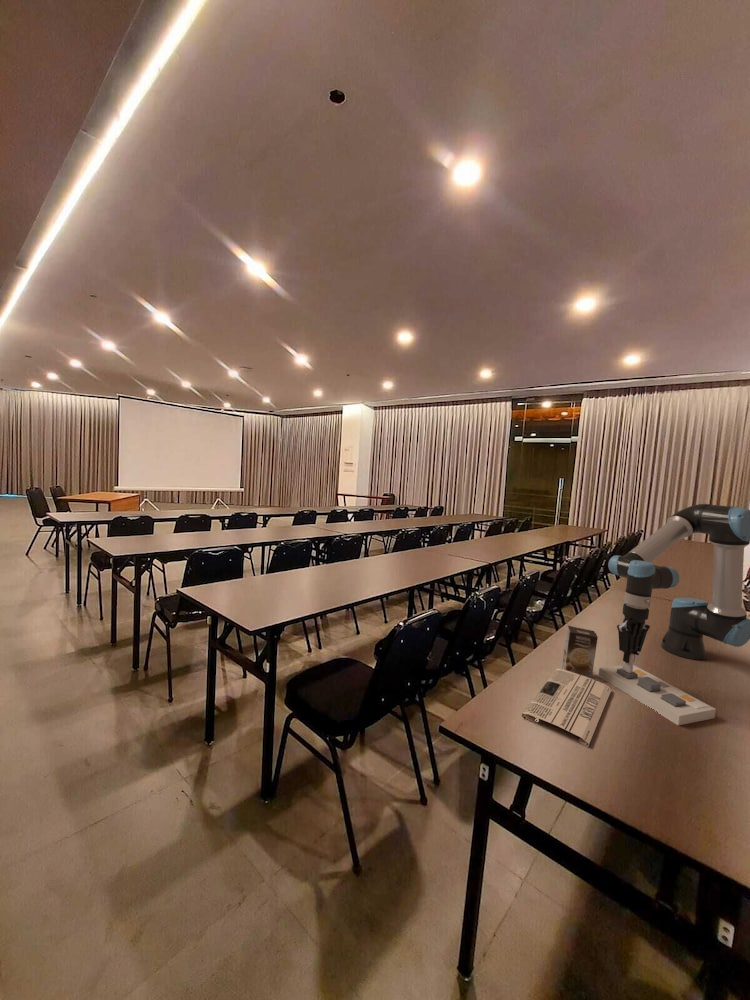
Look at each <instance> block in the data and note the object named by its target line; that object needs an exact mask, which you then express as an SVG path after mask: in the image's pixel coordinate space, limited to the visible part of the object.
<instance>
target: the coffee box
mask: <svg viewBox="0 0 750 1000" xmlns="http://www.w3.org/2000/svg"><path fill="white" fill-rule="evenodd" d="M598 638H599V637H598V634H597V633H596V632H595V631H594V630H590V629H585V628H581V627H577V626H572V625H567V630H566V636H565V642H564V649H563V651H564V652H563V657H562V665H561V669H564V670H567V671H570V672H573V673H576V674H580V675H583V676H586V677H588V678H591V679H593V671H594V666H595V658H596V651H597V644H598Z"/></svg>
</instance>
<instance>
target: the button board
mask: <svg viewBox="0 0 750 1000" xmlns="http://www.w3.org/2000/svg"><path fill="white" fill-rule="evenodd" d="M622 667H623V664H621V665H614V666H606V667H605V666H603V667H599V669H598V677H599V678H601V679H603V680H604V681H606V682H607V683H609V684H611V686H614V687H616V688H617V689H619V690H620V691H622V692H623V693H625V694H627V695H628V696H630V697H632V698H633V699H635V700H636V699H637V700H636V701H638V702H639V701H640V702H639V703H641V704H642V705H644V704H645V706H646V705H647V706H646V707H648V706H649V707H650V709H651V708H652V709H654V710H655V711H654V710H653V711H654V712H656V711H657V712H658V713H657V712H656V713H657V714H659V715H660V714H661V715H660V716H662V717H664V718H665V719H667V720H669V721H670V722H672V723H673V724H675V725H676V726H682V725H688V724H692V723H697V722H702V721H707V720H713V719H715V718H716V711H717V709H716V708H715V707H713V706H711V705H709V704H708V703H705V702H704V701H702V700H701V699H699V698H696V697H694V696H692V695H691V694H688V693H687V692H685V691H683V690H681V689H680V688H679V687H676V686H674V685H672V684H670V683H668V682H667V681H665V680H664V679H661V678H659V677H658V676H655V674H654V675H653V674H652V673H650V672H648V671H646V670H644V669H642V668H641V667H639V666H637V665H635V664H633V672H635V673H637V674H638V676H637V678H635V679H626V678H625V677H623V676H621V675H619V674H618V673H617V669H620V668H622ZM643 677H649V678H651V679H653V680H655V681H657V682H659V683H660V684H661V687H660V691H658V692H651V693H650V692H649V691H647V690H645V689H643V688H642V687H640V686H638V679H639V678H643ZM669 693H672V694H674V695H676V696H678V697H679V698H681V699H683V700H685V701H686V704H685V706H681V707H674V706H673V705H671V704H669V703H667V702H666V701H664V700H662V699H661V697H662V695H663V694H669ZM649 707H648V708H649ZM652 709H651V710H652Z"/></svg>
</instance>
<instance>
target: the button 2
mask: <svg viewBox="0 0 750 1000" xmlns="http://www.w3.org/2000/svg"><path fill="white" fill-rule="evenodd" d="M661 699H662V700H664V701H666V702H667V703H669V704H671V705H673V706H674V707H681V706H685V704H686V701H685V700H683V699H681V698H679V697H678V696H676V695H674V694H672V693H669V694H663V695H662V697H661Z"/></svg>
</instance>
